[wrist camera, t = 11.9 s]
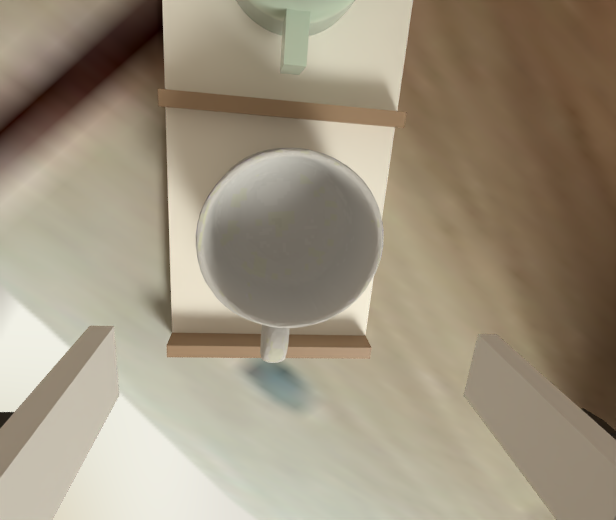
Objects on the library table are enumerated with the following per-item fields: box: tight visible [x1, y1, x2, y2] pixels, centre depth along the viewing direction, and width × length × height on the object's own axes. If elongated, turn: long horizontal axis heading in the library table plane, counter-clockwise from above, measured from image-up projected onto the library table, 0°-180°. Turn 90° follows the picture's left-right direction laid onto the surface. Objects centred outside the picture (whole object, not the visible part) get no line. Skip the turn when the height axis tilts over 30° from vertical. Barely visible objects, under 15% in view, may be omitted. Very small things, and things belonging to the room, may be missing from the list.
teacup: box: [196, 148, 383, 363], centre depth 27 cm, size 14×11×8 cm
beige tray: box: [158, 0, 413, 359], centre depth 27 cm, size 16×37×3 cm, turn 175°
